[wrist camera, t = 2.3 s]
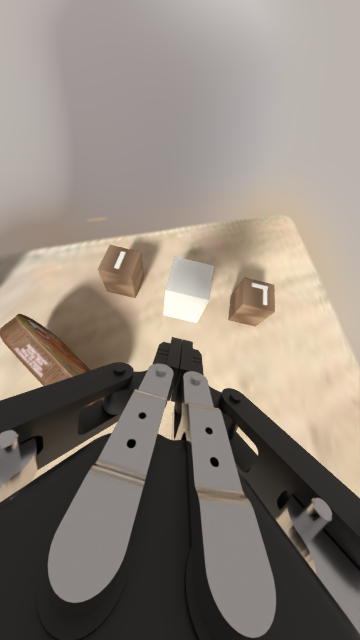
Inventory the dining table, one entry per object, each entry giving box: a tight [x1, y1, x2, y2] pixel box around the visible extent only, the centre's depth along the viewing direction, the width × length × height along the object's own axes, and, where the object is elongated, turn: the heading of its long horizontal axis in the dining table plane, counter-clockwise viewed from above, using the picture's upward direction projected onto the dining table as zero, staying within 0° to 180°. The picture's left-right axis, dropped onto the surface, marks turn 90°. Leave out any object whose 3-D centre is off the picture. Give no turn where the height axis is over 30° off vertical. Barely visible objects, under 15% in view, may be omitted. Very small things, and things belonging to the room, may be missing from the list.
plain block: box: [163, 256, 214, 323], centre depth 29 cm, size 6×6×8 cm
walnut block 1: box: [98, 245, 143, 298], centre depth 31 cm, size 5×5×6 cm
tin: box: [0, 314, 101, 407], centre depth 23 cm, size 15×3×8 cm, turn 49°
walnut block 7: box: [228, 278, 275, 326], centre depth 31 cm, size 5×5×6 cm
